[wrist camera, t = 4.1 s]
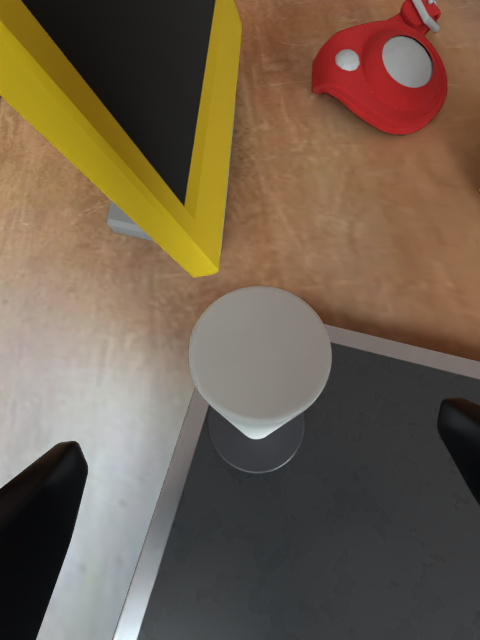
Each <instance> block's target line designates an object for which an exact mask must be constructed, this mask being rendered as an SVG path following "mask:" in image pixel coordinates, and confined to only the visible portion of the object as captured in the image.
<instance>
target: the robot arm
mask: <svg viewBox="0 0 480 640" xmlns="http://www.w3.org/2000/svg"><path fill="white" fill-rule="evenodd" d="M437 430H438V433H439V435H440V437H441V439H442V441H443V443H444V444H445V446H446V448H447V450H448V452H449V454H450V455H451V457H452V459H453V461H454V463H455V465H456V466H457V468H458V470H459V472H460V474H461V475H462V477H463V479H464V481H465V483H466V485H467V486H468V488H469V490H470V491H471V493H472V495H473V496H474V498H475V499H476V501H477V502H478V504H479V505H480V405H479V404H476V403H474V402H472V401H470V400H467V399H465V398H463V397H452V398H445V399H443V400H442V401H441V404H440V409H439V415H438V420H437ZM87 475H88V465H87V462H86V460H85V457H84V455H83V452H82V450H81V448H80V445H79V443H77V442H76V441H69V442H61V443H58V444H56V445H55V446H54V447H53V448H51V449H50V450H49V451H48V452H46V453H45V454H44V455H42V456H41V457H40V458H39V459H37V460H36V461H35V462H34V463H32V464H31V465H30V466H29V467H27V468H26V469H25V470H23V471H22V472H21V473H20V474H18V475H17V476H16V477H15V478H13V479H12V480H11V481H10V482H8V483H7V484H6V485H4V486H3V487H2V488H1V489H0V640H36V638H37V635H38V632H39V629H40V627H41V624H42V621H43V618H44V615H45V612H46V610H47V607H48V604H49V601H50V598H51V596H52V593H53V590H54V587H55V584H56V581H57V579H58V576H59V573H60V570H61V567H62V565H63V562H64V559H65V556H66V553H67V550H68V547H69V544H70V541H71V538H72V534H73V531H74V527H75V523H76V519H77V515H78V511H79V507H80V503H81V499H82V495H83V491H84V487H85V483H86V479H87Z"/></svg>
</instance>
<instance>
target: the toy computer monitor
mask: <svg viewBox="0 0 480 640" xmlns="http://www.w3.org/2000/svg"><path fill="white" fill-rule="evenodd" d="M241 35H242V24H241V21H240V18H239V15H238V11H237V8H236V5H235V2H234V0H0V96H1V97H3V98H4V99H5V100H6V101H7V102H8V103H9V104H10V105H11V106H12V107H13V108H14V109H15V110H16V111H17V112H18V113H19V114H21V115H22V116H23V117H24V118H25V119H26V120H27V121H28V122H29V123H30V124H31V125H32V126H33V127H34V128H35V129H36V130H37V131H39V132H40V133H41V134H42V135H43V136H44V137H45V138H46V139H47V140H48V141H49V142H50V143H51V144H52V145H53V146H54V147H55V148H57V149H58V150H59V151H60V152H61V153H62V154H63V155H64V156H65V157H66V158H67V159H68V160H69V161H70V162H71V163H72V164H73V165H75V166H76V167H77V168H78V169H79V170H80V171H81V172H82V173H83V174H84V175H85V176H86V177H87V178H88V179H89V180H90V181H91V182H93V183H94V184H95V185H96V186H97V187H98V188H99V189H100V190H101V191H102V192H103V193H104V194H105V195H106V196H107V197H108V198H110V199H111V200H112V201H111V205H110V209H109V213H108V217H107V221H106V222H107V224H108V225H109V227H110V228H111V230H112V231H113V232H114V233H119V234H123V235H128V236H133V237H137V238H142V239H146V240H151V241H155V242H156V243H157V244H158V245H159V246H160V247H161V248H162V249H164V250H165V251H166V252H167V253H168V254H169V255H170V256H171V257H172V258H173V259H174V260H175V261H176V262H177V263H178V264H179V265H180V266H182V267H183V268H184V269H185V270H186V271H187V272H188V273H189V274H190V275H191V276H192V277H199V276H205V275H211V274H215V273H217V271H218V270H219V261H220V254H221V252H222V241H223V231H224V220H225V210H226V200H227V189H228V179H229V168H230V158H231V147H232V137H233V126H234V116H235V105H236V102H235V96H236V86H237V76H238V65H239V55H240V45H241Z"/></svg>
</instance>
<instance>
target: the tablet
mask: <svg viewBox="0 0 480 640" xmlns="http://www.w3.org/2000/svg"><path fill="white" fill-rule="evenodd" d="M324 326H325V328H326V330H327V332H328V336H329V339H330V343H331V350H332V362H331V370H330V373H329V377H328V380H327V382H326V385H325V387H324V389H323V390H322V392H321V394H320V395H319V397H318V398H317V399H316V400H315V401H314V403H313V404H312V405H310V406H309V407H308V408H307V409H306V410H305V411H303V414H304V421H305V422H304V435H303V438H302V442H301V444H300V446H299V448H298V450H297V452H296V453H295V455H294V456H293V457H292V458H291V459H290V460H289V461H288V462H287V463H286V464H285V465H283V466H282V467H280V468H278V469H276V470H274V471H271V472H267V473H259V474H255V473H247V472H243V471H241V470H238V469H236V468H234V467H233V466H231V465H230V464H228V463H227V462H226V461H225V460H224V459H223V458H222V457H221V456H220V455H219V453H218V452H217V451H216V449H215V447H214V445H213V443H212V440H211V437H210V433H209V422H208V420H209V412H210V408H211V405H210V404H209V403H208V402H206V400H205V399H204V398H203V396H202V395H201V394H200V392H199V391H198V389H197V387H196V386H195V389H194V392H193V395H192V398H191V401H190V404H189V407H188V410H187V413H186V416H185V419H184V422H183V425H182V428H181V431H180V434H179V437H178V440H177V443H176V446H175V450H174V453H173V456H172V459H171V462H170V465H169V468H168V471H167V474H166V477H165V480H164V483H163V486H162V489H161V492H160V495H159V498H158V501H157V504H156V507H155V510H154V513H153V516H152V519H151V523H150V526H149V529H148V532H147V535H146V538H145V541H144V544H143V547H142V550H141V553H140V556H139V559H138V562H137V565H136V568H135V571H134V574H133V577H132V580H131V583H130V586H129V589H128V593H127V596H126V599H125V602H124V605H123V608H122V611H121V614H120V617H119V620H118V623H117V626H116V629H115V632H114V635H113V638H112V640H480V505H479V504H478V502H477V501H476V499H475V498H474V496H473V495H472V493H471V491H470V490H469V488H468V486H467V485H466V483H465V481H464V479H463V477H462V475H461V474H460V472H459V470H458V468H457V466H456V465H455V463H454V461H453V459H452V457H451V455H450V454H449V452H448V450H447V448H446V446H445V444H444V443H443V441H442V439H441V437H440V435H439V433H438V430H437V420H438V415H439V409H440V404H441V401H442V400H443V399H445V398H452V397H463V398H465V399H467V400H470V401H472V402H474V403H476V404H479V405H480V362H479V361H475V360H471V359H467V358H463V357H459V356H454V355H450V354H446V353H442V352H438V351H434V350H430V349H426V348H422V347H417V346H413V345H409V344H405V343H401V342H397V341H393V340H389V339H385V338H380V337H376V336H372V335H368V334H364V333H360V332H356V331H352V330H347V329H343V328H339V327H335V326H331V325H327V324H324Z"/></svg>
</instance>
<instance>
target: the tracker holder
mask: <svg viewBox="0 0 480 640" xmlns="http://www.w3.org/2000/svg"><path fill="white" fill-rule="evenodd" d="M440 15H441V12H440V10H439V8H438V7H437V3H436V2H435V0H406V1H405V2H404V3H403V5H402V7H401V10H400V13H399V14H397V15H395V16H394V17H392V18H390V19H388V20H386V21H376V22H370V23H366V24H361V25H358V26H354V27H350V28H347V29H344V30H342V31H339V32H337V33H336V34H334V35H333V36H332V37H331V38H330V39H329V40H328V41H327V42H326V43H325V44H324V45H323V46H322V48H321V49H320V51H319V52H318V54H317V55H316V57H315V59H314V61H313V64H312V91H313V93H315V94H322V93H327V94H329V95H332V96H334V97H335V98H337V99H338V100H340V101H341V102H342V103H343V104H344V105H345V106H346V107H347V108H348V109H349V110H351V111H352V112H353V113H354V114H356V115H357V116H359V117H360V118H361V119H363V120H364V121H366V122H367V123H369V124H370V125H372V126H374V127H376V128H377V129H379V130H381V131H384V132H386V133H390V134H396V135H401V134H409V133H413V132H416V131H418V130H420V129H421V128H423V127H424V126H425V125H427V124H428V123H429V122H430V121H431V120H432V118H433V117H434V116H435V115H436V114H437V113H438V112H439V111H440V109H441V108H442V106H443V104H444V101H445V98H446V94H447V76H446V71H445V68H444V65H443V62H442V60H441V58H440V56H439V55H438V53H437V51H436V49H435V48H434V47H433V46H432V44H431V43H430V42H429V41H428V40H427V39H426V38H425V37H424V36H425V35H426V33H427V32H428V31H429V30H430V29H431V30H432V31H433V32H434V33H436V32H437V31H439V25H438V24H437V22H436V21H437V20H438V19H439V17H440Z"/></svg>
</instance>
